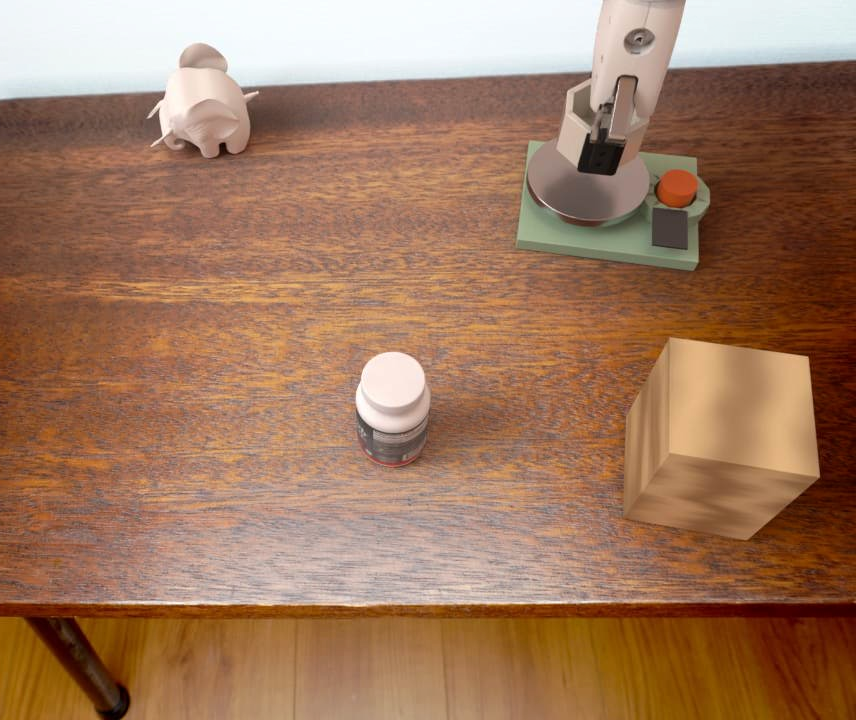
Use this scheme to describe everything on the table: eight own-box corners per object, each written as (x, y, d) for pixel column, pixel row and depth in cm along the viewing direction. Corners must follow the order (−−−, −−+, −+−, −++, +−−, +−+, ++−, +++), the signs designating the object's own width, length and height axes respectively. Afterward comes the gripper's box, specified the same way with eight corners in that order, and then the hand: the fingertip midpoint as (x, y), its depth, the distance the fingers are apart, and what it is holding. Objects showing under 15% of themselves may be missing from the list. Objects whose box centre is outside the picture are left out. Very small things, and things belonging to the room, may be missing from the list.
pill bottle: (357, 406, 69) (354, 344, 61) (425, 406, 69) (431, 343, 60) (357, 469, 66) (354, 412, 58) (427, 469, 66) (434, 412, 57)
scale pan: (686, 150, 78) (689, 143, 77) (687, 250, 72) (690, 243, 71) (531, 134, 80) (532, 127, 79) (519, 229, 74) (521, 222, 73)
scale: (698, 168, 81) (708, 145, 78) (700, 272, 74) (711, 251, 72) (527, 150, 83) (532, 127, 81) (515, 248, 77) (519, 227, 74)
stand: (742, 434, 66) (808, 356, 56) (746, 540, 61) (820, 477, 51) (625, 416, 67) (669, 336, 57) (622, 518, 63) (669, 452, 53)
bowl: (636, 122, 74) (650, 82, 70) (634, 177, 71) (649, 138, 67) (559, 114, 75) (569, 74, 71) (553, 168, 72) (563, 129, 68)
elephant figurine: (149, 120, 89) (128, 51, 82) (257, 99, 90) (246, 29, 82) (158, 182, 84) (136, 116, 77) (272, 160, 85) (261, 92, 77)
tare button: (692, 184, 76) (698, 171, 75) (692, 210, 75) (698, 197, 73) (656, 180, 77) (661, 167, 75) (655, 206, 75) (661, 193, 74)
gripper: (716, 35, 52) (639, 220, 67) (710, -117, 61) (643, 78, 76) (594, 25, 53) (546, 209, 69) (606, -122, 62) (561, 70, 77)
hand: (598, 139), depth 72 cm, fingers closed on bowl, 6 cm apart
